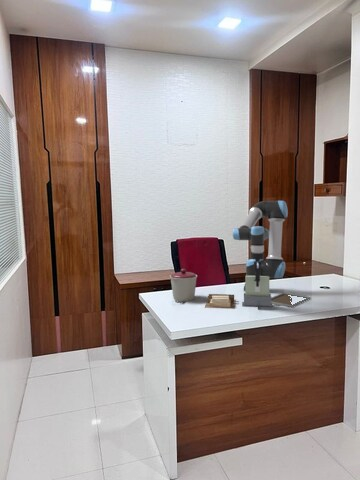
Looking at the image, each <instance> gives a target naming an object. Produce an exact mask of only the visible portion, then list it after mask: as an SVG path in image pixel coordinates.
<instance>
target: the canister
mask: <svg viewBox="0 0 360 480" xmlns="http://www.w3.org/2000/svg"><path fill="white" fill-rule="evenodd" d="M169 278H170V283H171V290H172V296H173V299H174V301H175V302H176V303H177V302H178V303H187V302H188V301H193V300H194V299H195V296H196V295H195V294H196V287H197V286H196V285H197V278H198V275H197V274H196V273H194V272H192V271H187V269H186V268H182V269H180V271H178V272H174V273H172V274H170V275H169Z"/></svg>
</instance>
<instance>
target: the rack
mask: <svg viewBox="0 0 360 480" xmlns="http://www.w3.org/2000/svg"><path fill="white" fill-rule="evenodd" d="M212 296H229V300H231V305H230V307H210V301H211V299H212ZM236 304H237V300H236V299H235V294H231V293H230V294H228V293H227V294H226V293H225V294H224V293H223V294H222V293H220V294H218V293H209V294H208V295H207V301H206V303H205V305H204V309H227V310H230V309H231V310H233V309H234V310H235V309H236Z"/></svg>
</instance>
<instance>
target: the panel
mask: <svg viewBox="0 0 360 480" xmlns="http://www.w3.org/2000/svg"><path fill="white" fill-rule="evenodd" d="M254 280H255V276H246V275H245V280H244V281H245V283H244V285H245V291H244V293H245V295H246V296H269V294H270V278H269V276H260V292H255V281H254Z"/></svg>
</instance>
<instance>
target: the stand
mask: <svg viewBox="0 0 360 480" xmlns="http://www.w3.org/2000/svg"><path fill="white" fill-rule="evenodd" d="M271 297H272V293H269V296H246V295H245V292H244V293H243V301H242V302H241V304H242V305H241V307H244V308H257V310H260V311H261V310H262V311H267V310H268V311H273V310H274V305H273V304H272V303H271Z"/></svg>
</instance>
